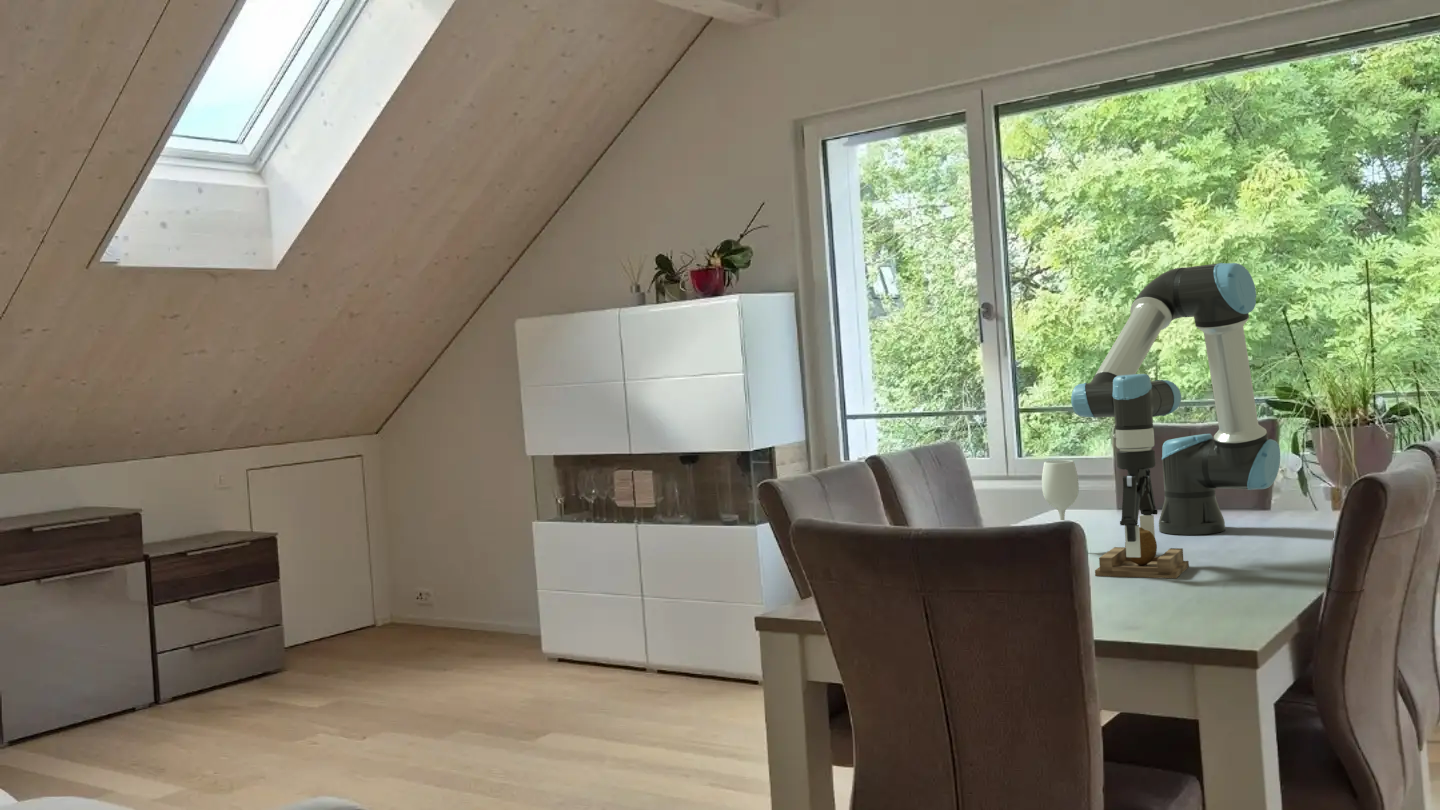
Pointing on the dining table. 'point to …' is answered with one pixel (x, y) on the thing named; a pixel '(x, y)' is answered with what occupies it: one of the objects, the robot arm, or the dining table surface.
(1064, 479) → the wineglass
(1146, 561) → the fruit
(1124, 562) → the cradle
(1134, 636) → the dining table surface
